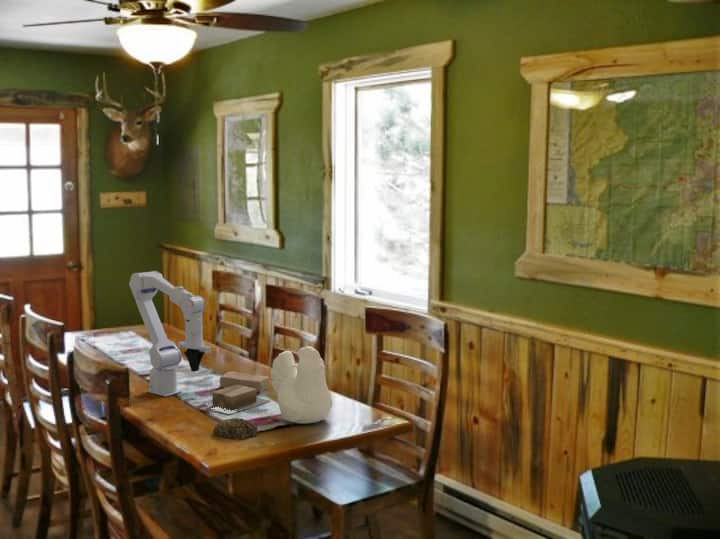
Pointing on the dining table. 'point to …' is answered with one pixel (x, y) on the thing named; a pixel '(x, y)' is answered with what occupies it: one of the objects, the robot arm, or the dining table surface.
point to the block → (234, 397)
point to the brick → (244, 381)
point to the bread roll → (235, 429)
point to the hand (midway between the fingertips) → (194, 371)
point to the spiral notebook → (259, 401)
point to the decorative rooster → (301, 386)
